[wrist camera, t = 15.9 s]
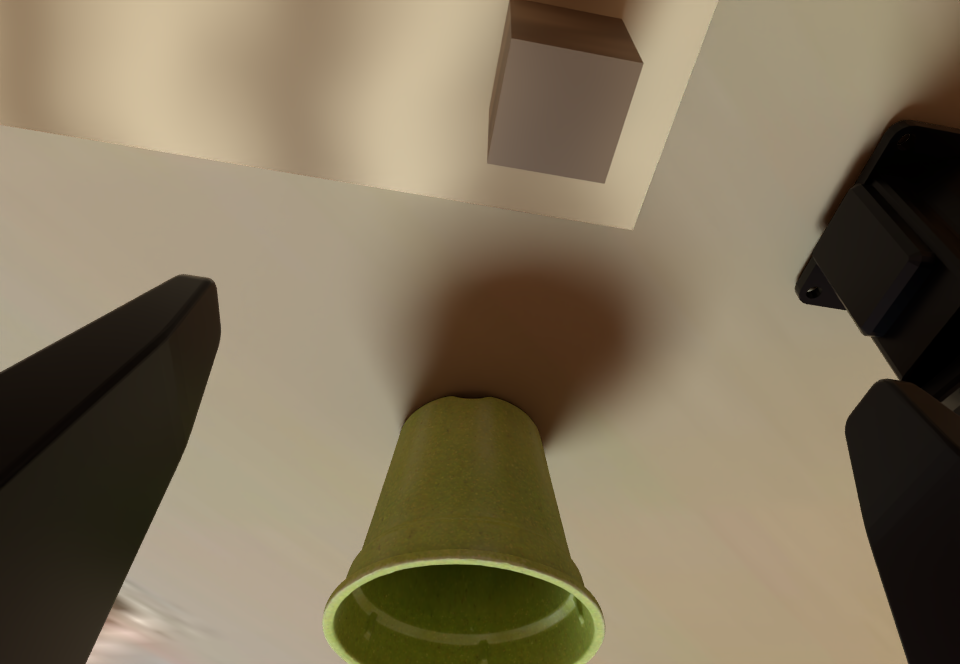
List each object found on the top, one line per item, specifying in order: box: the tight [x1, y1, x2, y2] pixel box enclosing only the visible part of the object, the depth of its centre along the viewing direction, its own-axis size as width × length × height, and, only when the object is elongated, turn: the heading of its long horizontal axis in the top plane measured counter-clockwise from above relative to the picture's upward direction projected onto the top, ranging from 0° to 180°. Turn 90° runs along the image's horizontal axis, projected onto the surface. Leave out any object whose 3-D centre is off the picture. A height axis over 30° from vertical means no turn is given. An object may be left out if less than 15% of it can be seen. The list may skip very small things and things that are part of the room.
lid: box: [0, 0, 718, 230], centre depth 17 cm, size 20×9×4 cm, turn 80°
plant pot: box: [322, 396, 605, 664], centre depth 26 cm, size 9×9×9 cm
